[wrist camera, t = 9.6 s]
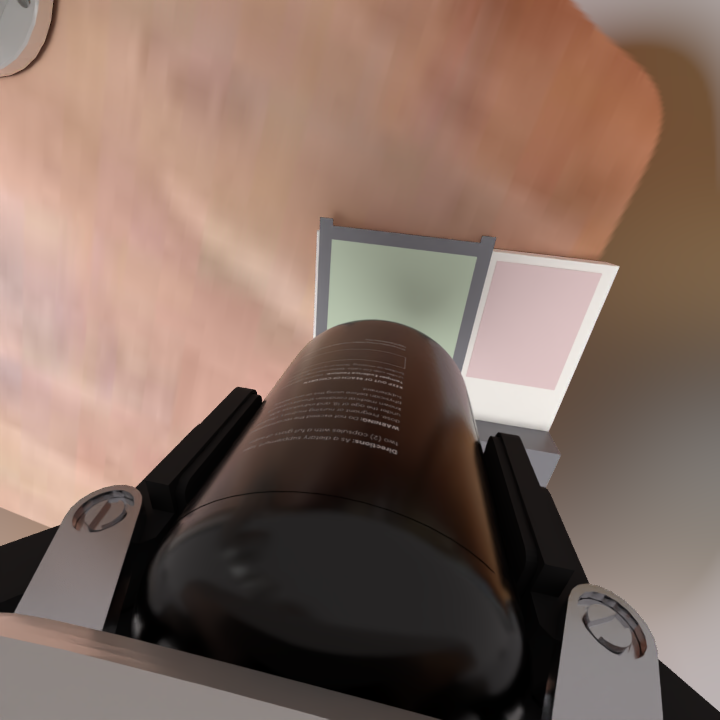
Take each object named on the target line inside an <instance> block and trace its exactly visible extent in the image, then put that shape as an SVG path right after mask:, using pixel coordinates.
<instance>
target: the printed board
mask: <svg viewBox="0 0 720 720" xmlns="http://www.w3.org/2000/svg"><path fill="white" fill-rule="evenodd" d="M495 241H496V237H489V236H482V238H481V242H480V243H478V242H469V241H461V240H452V239H444V238H435V237H427V236H418V235H409V234H401V233H392V232H384V231H375V230H367V229H358V228H350V227H341V226H333V219H332V218H324V217H320V230H317V248H316V276H315V304H314V332H313V339H314V338H315V337H316V336H318V335H319V334H321V333H322V332H324V331H326V330H328V329H330V328H332V327H334V326H337V325H340V324H343V323H346V322H351V321H356V320H365V319H378V320H387V321H393V322H397V323H401V324H404V325H407V326H409V327H412V328H414V329H416V330H418V331H420V332H422V333H424V334H426V335H427V336H429V337H430V338H432V339H433V340H434V341H436V342H437V343H438V344H439V345H440V346H441V347H442V348H444V349H445V350H446V352H447V353H448V354H449V355H450V356H451V357H452V359H453V360H454V362H455V363H456V365H457V366H458V368H459V370H460V372H461V374H462V377H463V379H464V382H465V384H466V388H467V392H468V395H469V398H470V402H471V406H472V410H473V414H474V418H475V420H481V421H487V422H493V423H499V424H505V425H511V426H517V427H523V428H529V429H535V430H541V431H547V432H549V429H550V427H551V425H552V422H553V420H554V418H555V415H556V413H557V411H558V409H559V406H560V404H561V402H562V399H563V397H564V394H565V392H566V390H567V388H568V385H569V383H570V380H571V378H572V376H573V374H574V371H575V369H576V367H577V364H578V362H579V360H580V357H581V355H582V353H583V350H584V348H585V346H586V343H587V341H588V339H589V336H590V334H591V332H592V329H593V327H594V325H595V322H596V320H597V318H598V315H599V313H600V311H601V309H602V306H603V304H604V302H605V299H606V297H607V294H608V292H609V290H610V287H611V285H612V283H613V281H614V278H615V276H616V274H617V271H618V269H619V266H616V265H613V264H610V263H608V262H601V261H593V260H585V259H577V258H568V257H560V256H551V255H543V254H534V253H526V252H517V251H509V250H501V249H493V248H494V245H495Z"/></svg>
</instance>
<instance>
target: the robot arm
mask: <svg viewBox="0 0 720 720" xmlns="http://www.w3.org/2000/svg"><path fill="white" fill-rule="evenodd" d="M52 8H53V0H0V77H2V76H9V75H12V74H14V73H16V72H18V71H20V70H22V69H24V68H25V67H26V66H27V65H28V64H29V63H30V62H31V61H33V60H34V59H35V58H36V56H37V54H38V53H39V51H40V49H41V47H42V46H43V44H44V42H45V39H46V36H47V33H48V29H49V26H50V23H51V17H52ZM261 404H262V397H261V396H260V395H257V392H256V390H253V389H248V388H242V387H236V388H235V389H234V390H233V391H232V392H231V393H230V394H229V395H228V396H227V397H226V398H225V399H224V400H223V401H222V402H221V403H220V404H219V405H218V406H217V407H216V408H215V409H214V410H213V411H212V412H211V413H210V414H209V415H208V416H207V417H206V418H205V419H204V421H203V422H202V423H201V424H199V425H197V426H196V427H195V428H194V429H193V430H192V431H191V432H190V433H189V434H188V435H187V436H186V437H185V438H184V439H183V440H182V441H181V442H180V443H179V444H178V445H177V446H176V447H175V448H174V449H173V450H172V451H171V452H170V453H169V454H168V455H167V456H166V457H165V458H164V459H163V460H162V461H161V462H160V463H159V464H158V465H157V466H156V467H155V468H154V469H153V470H152V471H151V472H150V473H149V475H148V476H147V477H146V478H145V479H144V480H143V481H142V482H141V483H140V484H139V485H138V486H137V487H136V488H134V487H132V486H127V485H114V486H110V487H105V488H102V489H100V490H97V491H95V492H92V493H90V494H89V495H87V496H85V497H84V498H82V499H81V500H79V501H78V502H77V503H76V504H75V505H74V506H72V507H71V509H70V510H69V511H68V513H67V514H66V516H65V517H64V519H63V521H62V523H61V525H59V526H56V527H53V528H50V529H47V530H45V531H42V532H39V533H36V534H33V535H30V536H28V537H25V538H22V539H19V540H17V541H14V542H11V543H8V544H5V545H2V546H0V720H441V719H437V718H433V717H429V716H426V715H422V714H418V713H415V712H411V711H407V710H404V709H400V708H396V707H392V706H389V705H385V704H381V703H378V702H374V701H370V700H366V699H362V698H359V697H355V696H351V695H347V694H343V693H340V692H336V691H332V690H328V689H325V688H321V687H317V686H313V685H309V684H306V683H302V682H298V681H294V680H290V679H287V678H283V677H279V676H275V675H271V674H268V673H264V672H260V671H256V670H252V669H248V668H245V667H241V666H237V665H233V664H229V663H226V662H222V661H218V660H214V659H210V658H206V657H202V656H198V655H194V654H191V653H187V652H183V651H179V650H175V649H171V648H167V647H163V646H159V645H156V644H152V643H148V642H144V641H140V640H136V639H132V638H131V618H132V611H133V605H134V601H135V596H136V592H137V588H138V585H139V581H140V578H141V576H142V574H143V571H144V569H145V567H146V565H147V563H148V561H149V559H150V558H151V556H152V555H153V553H154V551H155V550H156V548H157V547H158V546H159V544H160V543H161V541H162V540H163V538H164V536H165V535H166V533H167V532H168V531H169V529H170V528H171V526H172V525H173V524H174V522H175V521H176V519H177V518H178V517H179V515H180V514H181V513H182V511H183V510H184V509H185V507H186V506H187V504H188V503H189V502H190V500H191V499H192V498H193V496H194V495H195V494H196V492H197V491H198V489H199V488H200V487H201V485H202V484H203V483H204V481H205V480H206V479H207V477H208V476H209V474H210V473H211V472H212V470H213V469H214V468H215V466H216V465H217V464H218V462H219V461H220V459H221V458H222V457H223V455H224V454H225V453H226V451H227V450H228V449H229V447H230V446H231V445H232V443H233V442H234V440H235V439H236V438H237V436H238V435H239V434H240V432H241V431H242V430H243V428H244V427H245V425H246V424H247V423H248V421H249V420H250V419H251V417H252V416H253V415H254V413H255V412H256V410H257V409H258V408H259V406H260V405H261ZM483 454H484V457H485V461H486V465H487V469H488V473H489V477H490V481H491V485H492V489H493V493H494V497H495V501H496V505H497V509H498V513H499V517H500V521H501V525H502V529H503V533H504V537H505V541H506V545H507V549H508V553H509V557H510V561H511V565H512V569H513V573H514V577H515V581H516V585H517V589H518V593H519V597H520V601H521V605H522V609H523V613H524V618H525V623H526V629H527V633H528V637H529V642H530V647H531V653H532V659H533V675H534V679H533V689H532V698H531V704H530V709H529V713H528V717H527V720H720V712H719V711H718V710H717V709H716V708H714V707H713V706H712V705H711V704H710V703H709V702H707V701H706V700H705V699H704V698H703V697H702V696H700V695H699V694H698V693H697V692H696V691H695V690H693V689H692V688H691V687H690V686H688V684H686V683H685V682H684V681H683V680H682V679H681V678H680V677H678V676H677V675H676V674H675V673H674V672H672V671H671V670H670V669H669V668H668V667H667V666H666V665H664V664H663V663H662V662H661V661H660V660H659V659H658V652H657V647H656V644H655V639H654V637H653V635H652V633H651V631H650V629H649V628H648V626H647V624H646V623H645V622H644V620H643V619H642V618H641V617H640V615H639V614H638V613H637V612H636V611H635V610H634V609H633V608H632V607H631V606H630V605H629V604H628V603H627V602H626V601H625V600H623V599H622V598H620V597H619V596H617V595H616V594H614V593H613V592H611V591H609V590H607V589H605V588H603V587H600V586H597V585H592V584H589V582H588V580H587V577H586V575H585V573H584V570H583V568H582V566H581V564H580V561H579V559H578V557H577V554H576V552H575V550H574V547H573V545H572V543H571V540H570V538H569V536H568V534H567V531H566V529H565V527H564V524H563V522H562V520H561V517H560V515H559V513H558V511H557V508H556V506H555V504H554V501H553V499H552V497H551V494H550V493H549V491H548V490H547V489H546V488H545V487H542V486H540V484H539V482H538V479H537V477H536V474H535V472H534V469H533V467H532V465H531V462H530V460H529V457H528V455H527V452H526V450H525V448H524V445H523V443H522V440H521V438H520V436H518V435H513V434H507V433H501V432H498V433H497V434H496V436H490V437H489V439H488V441H487V444H486V447H485V450H484V453H483Z"/></svg>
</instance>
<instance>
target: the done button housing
mask: <svg viewBox="0 0 720 720" xmlns="http://www.w3.org/2000/svg"><path fill="white" fill-rule="evenodd" d="M475 422H476V426H477V430H478V434H479V438H480V442H481V446H482V450H483V453H484V450H485V447H486V444H487V441H488V439H489V437H490V436H496V434H497V433H498V432H501V433H507V434H513V435H518V436H520V438H521V440H522V443H523V445H524V448H525V450H526V452H527V455H528V457H529V460H530V462H531V465H532V467H533V469H534V472H535V474H536V477H537V479H538V482H539V484H540V486H542V487H545V488H546V486H547V484H548V482H549V479H550V477H551V475H552V473H553V471H554V469H555V467H556V465H557V463H558V460H559V458H560V456H561V454H560V452H559V450H558V448H557V446H556V445H555V443H554V441H553V439H552V437H551V436H550V434H549V432H547V431H541V430H535V429H529V428H523V427H517V426H511V425H505V424H499V423H493V422H487V421H481V420H475Z"/></svg>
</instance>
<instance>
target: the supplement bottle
mask: <svg viewBox="0 0 720 720" xmlns="http://www.w3.org/2000/svg"><path fill="white" fill-rule="evenodd" d="M131 638H132V639H136V640H140V641H144V642H148V643H152V644H156V645H159V646H163V647H167V648H171V649H175V650H179V651H183V652H187V653H191V654H194V655H198V656H202V657H206V658H210V659H214V660H218V661H222V662H226V663H229V664H233V665H237V666H241V667H245V668H248V669H252V670H256V671H260V672H264V673H268V674H271V675H275V676H279V677H283V678H287V679H290V680H294V681H298V682H302V683H306V684H309V685H313V686H317V687H321V688H325V689H328V690H332V691H336V692H340V693H343V694H347V695H351V696H355V697H359V698H362V699H366V700H370V701H374V702H378V703H381V704H385V705H389V706H392V707H396V708H400V709H404V710H407V711H411V712H415V713H418V714H422V715H426V716H429V717H433V718H437V719H441V720H527V717H528V713H529V709H530V704H531V698H532V689H533V679H534V675H533V659H532V653H531V647H530V642H529V637H528V633H527V629H526V623H525V618H524V613H523V609H522V605H521V601H520V597H519V593H518V589H517V585H516V581H515V577H514V573H513V569H512V565H511V561H510V557H509V553H508V549H507V545H506V541H505V537H504V533H503V529H502V525H501V521H500V517H499V513H498V509H497V505H496V501H495V497H494V493H493V489H492V485H491V481H490V477H489V473H488V469H487V465H486V461H485V457H484V454H483V450H482V446H481V442H480V438H479V434H478V430H477V426H476V422H475V418H474V414H473V410H472V406H471V402H470V398H469V395H468V392H467V388H466V384H465V382H464V379H463V377H462V374H461V372H460V370H459V368H458V366H457V365H456V363H455V362H454V360H453V359H452V357H451V356H450V355H449V354H448V353H447V352H446V350H445V349H444V348H442V347H441V346H440V345H439V344H438V343H437V342H436V341H434V340H433V339H432V338H430V337H429V336H427V335H426V334H424V333H422V332H420V331H418V330H416V329H414V328H412V327H409V326H407V325H404V324H401V323H397V322H393V321H387V320H378V319H365V320H356V321H351V322H346V323H343V324H340V325H337V326H334V327H332V328H330V329H328V330H326V331H324V332H322V333H321V334H319V335H318V336H316V337H315V338H314V339H313V340H311V341H310V342H309V343H308V344H307V345H306V346H305V347H304V348H303V349H302V350H301V351H300V353H299V354H298V355H297V357H296V358H295V359H294V361H293V362H292V363H291V364H290V366H289V367H288V368H287V370H286V371H285V372H284V374H283V375H282V376H281V378H280V379H279V381H278V382H277V383H276V385H275V386H274V387H273V389H272V390H271V391H270V393H269V394H268V396H267V397H266V398H265V400H264V401H263V402H262V404H261V405H260V406H259V408H258V409H257V410H256V412H255V413H254V415H253V416H252V417H251V419H250V420H249V421H248V423H247V424H246V425H245V427H244V428H243V430H242V431H241V432H240V434H239V435H238V436H237V438H236V439H235V440H234V442H233V443H232V445H231V446H230V447H229V449H228V450H227V451H226V453H225V454H224V455H223V457H222V458H221V459H220V461H219V462H218V464H217V465H216V466H215V468H214V469H213V470H212V472H211V473H210V474H209V476H208V477H207V479H206V480H205V481H204V483H203V484H202V485H201V487H200V488H199V489H198V491H197V492H196V494H195V495H194V496H193V498H192V499H191V500H190V502H189V503H188V504H187V506H186V507H185V509H184V510H183V511H182V513H181V514H180V515H179V517H178V518H177V519H176V521H175V522H174V524H173V525H172V526H171V528H170V529H169V531H168V532H167V533H166V535H165V536H164V538H163V540H162V541H161V543H160V544H159V546H158V547H157V548H156V550H155V551H154V553H153V555H152V556H151V558H150V559H149V561H148V563H147V565H146V567H145V569H144V571H143V574H142V576H141V578H140V581H139V585H138V588H137V592H136V596H135V601H134V605H133V611H132V618H131Z"/></svg>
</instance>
